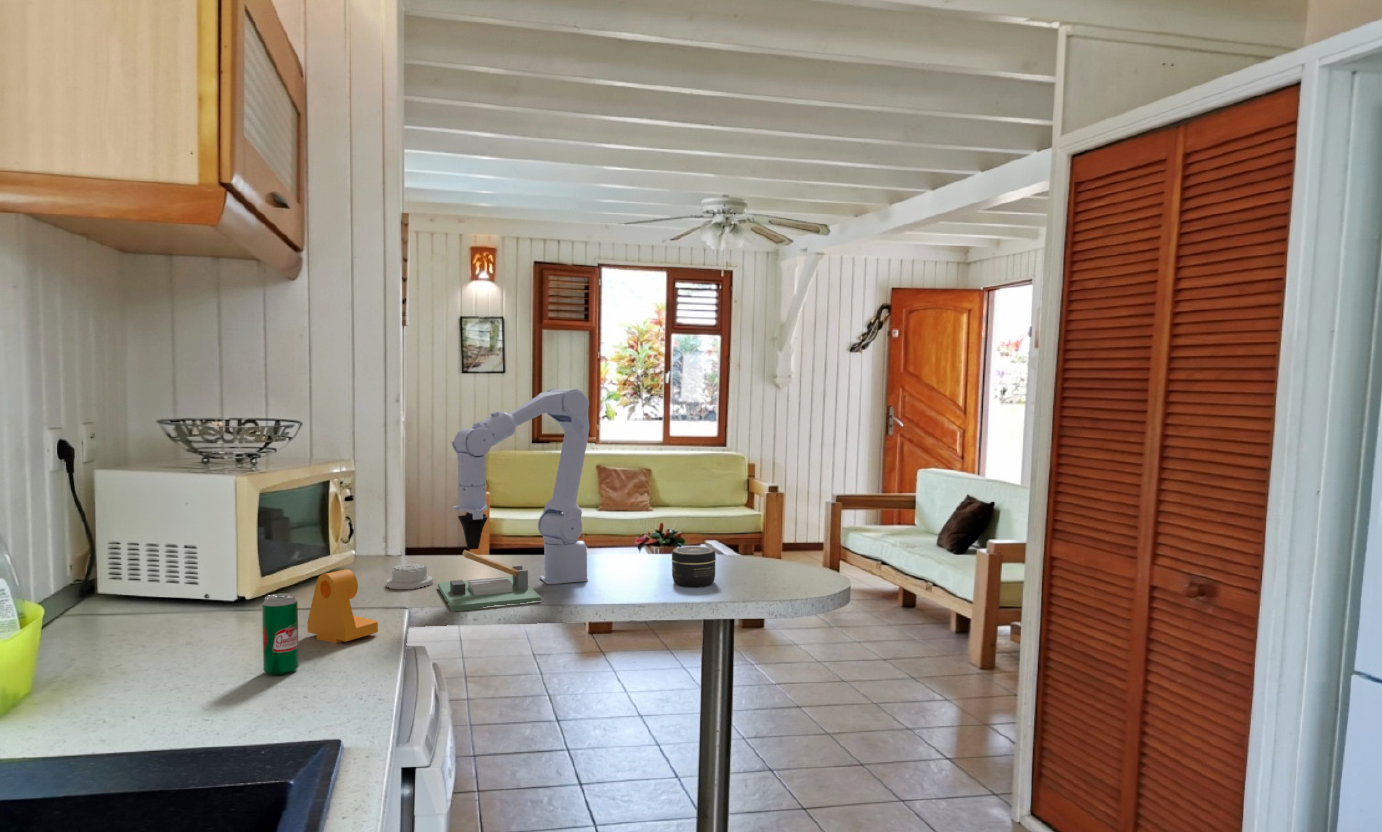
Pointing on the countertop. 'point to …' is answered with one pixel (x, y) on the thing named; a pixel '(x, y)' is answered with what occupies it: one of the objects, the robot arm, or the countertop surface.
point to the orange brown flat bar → (490, 563)
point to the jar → (693, 566)
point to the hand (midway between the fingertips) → (472, 548)
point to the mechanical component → (409, 577)
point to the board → (488, 591)
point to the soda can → (280, 634)
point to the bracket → (337, 609)
